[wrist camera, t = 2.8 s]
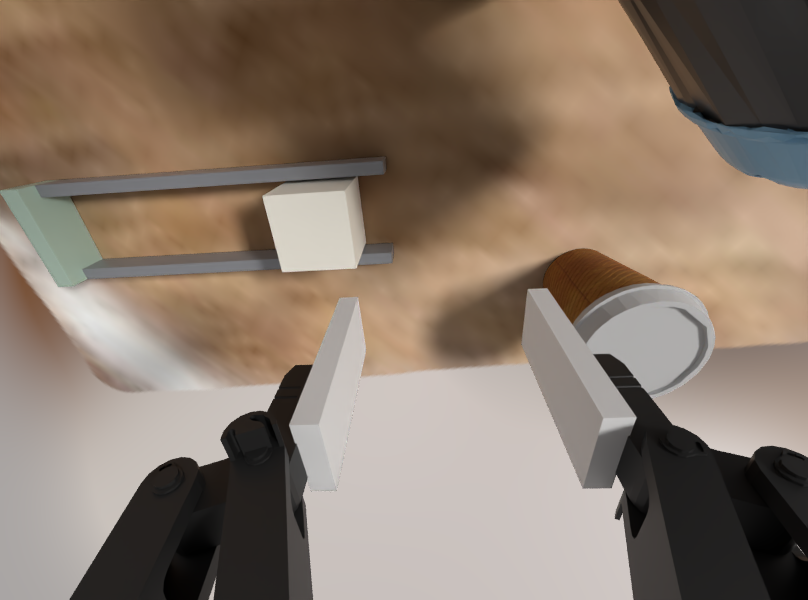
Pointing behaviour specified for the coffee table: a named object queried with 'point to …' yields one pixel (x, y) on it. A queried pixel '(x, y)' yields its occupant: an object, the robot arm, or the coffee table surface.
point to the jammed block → (317, 223)
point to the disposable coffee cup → (633, 318)
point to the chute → (67, 234)
